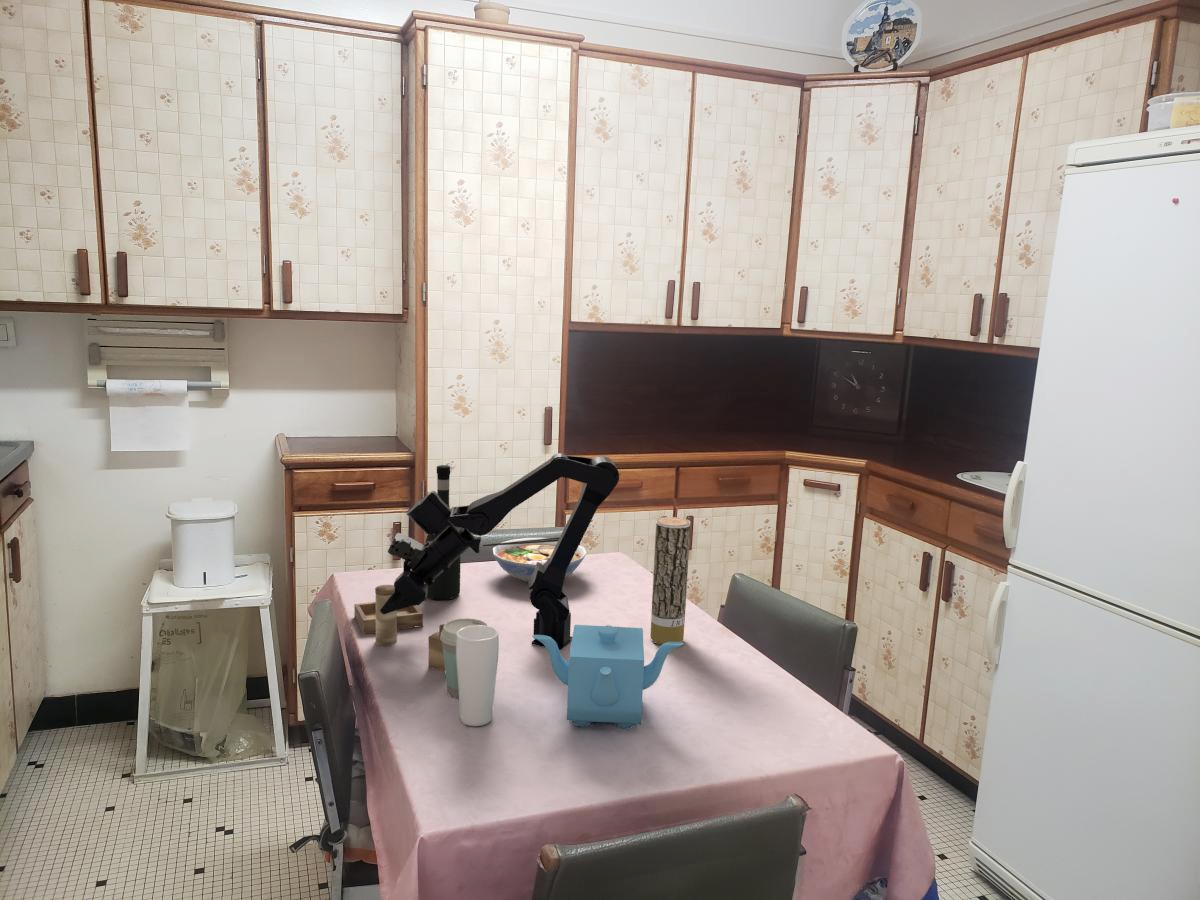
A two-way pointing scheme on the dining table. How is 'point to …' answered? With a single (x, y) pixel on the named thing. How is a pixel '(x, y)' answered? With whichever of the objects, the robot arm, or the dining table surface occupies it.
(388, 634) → the beech dowel
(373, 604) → the walnut tray
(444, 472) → the wine bottle
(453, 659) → the coffee cup
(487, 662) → the drinking glass
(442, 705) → the dining table surface
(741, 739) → the dining table surface
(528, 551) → the ramen bowl
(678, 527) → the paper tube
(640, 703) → the teakettle
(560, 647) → the robot arm
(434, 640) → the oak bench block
